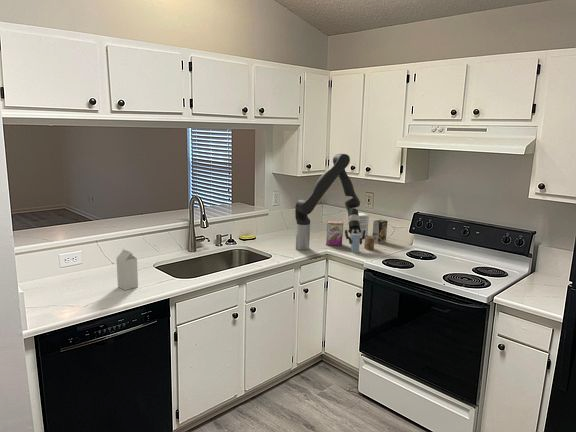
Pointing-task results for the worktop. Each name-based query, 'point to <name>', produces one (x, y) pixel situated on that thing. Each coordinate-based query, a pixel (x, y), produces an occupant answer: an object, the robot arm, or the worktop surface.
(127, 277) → the milk carton
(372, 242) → the walnut block
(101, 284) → the worktop surface
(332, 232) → the candy bar box
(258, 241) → the worktop surface
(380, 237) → the coffee box
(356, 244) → the slate-blue block
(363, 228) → the supplement box
